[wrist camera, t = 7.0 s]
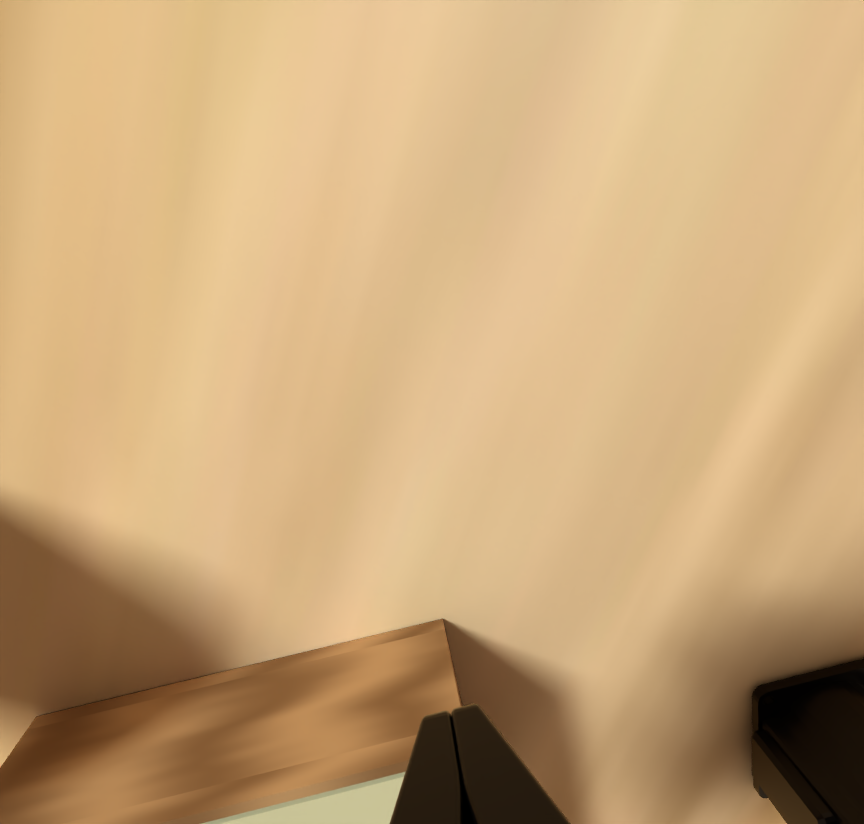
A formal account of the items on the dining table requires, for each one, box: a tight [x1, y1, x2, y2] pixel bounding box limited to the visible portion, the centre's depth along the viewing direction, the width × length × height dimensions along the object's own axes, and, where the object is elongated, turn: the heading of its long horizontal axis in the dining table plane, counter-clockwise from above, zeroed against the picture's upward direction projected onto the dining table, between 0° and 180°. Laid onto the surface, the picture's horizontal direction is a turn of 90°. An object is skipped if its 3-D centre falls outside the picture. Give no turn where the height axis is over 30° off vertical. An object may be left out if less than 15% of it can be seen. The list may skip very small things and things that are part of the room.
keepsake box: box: [0, 619, 462, 824], centre depth 20 cm, size 16×9×6 cm, turn 102°
